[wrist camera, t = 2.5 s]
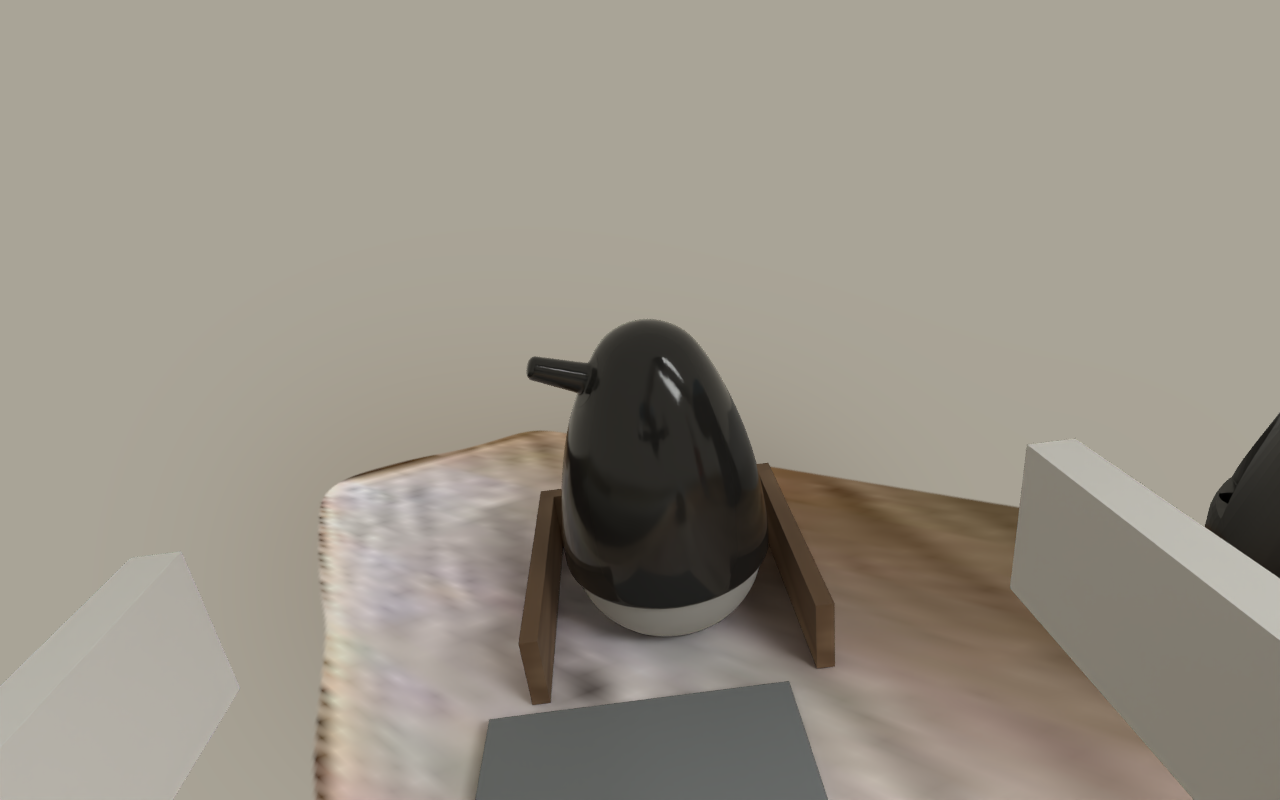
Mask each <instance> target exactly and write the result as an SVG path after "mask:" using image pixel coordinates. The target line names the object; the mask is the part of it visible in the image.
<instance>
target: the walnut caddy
mask: <svg viewBox="0 0 1280 800" xmlns="http://www.w3.org/2000/svg"><path fill="white" fill-rule="evenodd" d="M757 468H758V472H759V476H760V481H761V485H762V490H763V495H764V500H765V505H766V511H767V518H768V531H769V545H770V548H771V551H772V553H773V556H774V558H775V561H776V563H777V566H778V569H779V571H780V574H781V576H782V579H783V582H784V584H785V587H786V589H787V592H788V595H789V597H790V600H791V602H792V605H793V608H794V610H795V613H796V615H797V618H798V620H799V623H800V626H801V628H802V631H803V633H804V636H805V639H806V641H807V644H808V646H809V649H810V652H811V654H812V657H813V659H814V662H815V665H816V667H817V668H825V667H833V666H835V620H834V602H833V600H832V597H831V595H830V593H829V591H828V589H827V587H826V585H825V582H824V580H823V578H822V576H821V574H820V572H819V570H818V568H817V565H816V563H815V561H814V559H813V557H812V555H811V553H810V551H809V548H808V546H807V544H806V542H805V540H804V538H803V536H802V534H801V531H800V529H799V527H798V525H797V523H796V521H795V519H794V517H793V514H792V512H791V510H790V508H789V506H788V504H787V502H786V500H785V497H784V495H783V493H782V491H781V489H780V487H779V485H778V483H777V480H776V478H775V476H774V474H773V472H772V470H771V468H770V466H769V464H768V463H763V464H757ZM561 490H562V489H557V490H549V491H541V494H540V501H539V508H538V515H537V522H536V528H535V535H534V542H533V549H532V556H531V563H530V569H529V576H528V583H527V590H526V597H525V603H524V610H523V617H522V624H521V631H520V637H519V648H520V652H521V657H522V661H523V665H524V670H525V674H526V678H527V683H528V687H529V691H530V696H531V700H532V704H533V705H536V704H543V703H550V702H551V689H552V677H553V664H554V652H555V639H556V627H557V614H558V601H559V589H560V576H561V564H562V551H563V547H564V542H563V531H562V502H561Z"/></svg>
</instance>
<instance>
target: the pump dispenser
mask: <svg viewBox="0 0 1280 800" xmlns="http://www.w3.org/2000/svg"><path fill="white" fill-rule="evenodd" d="M526 371H527V376H528V378H529V379H530V380H533V381H537V382H541V383H544V384H547V385H551V386H554V387H558V388H562V389H565V390H569V391H573V392H576V393H577V395H576V399H575V402H574V405H573V409H572V412H571V417H570V421H569V426H568V431H567V436H566V443H565V450H564V458H563V469H562V490H561V502H562V531H563V542H564V549H565V555H566V560H567V564H568V567H569V569H570V571H571V573H572V575H573V577H574V578H575V579H576V581H577V582H578V583H579V584H580V585H581V586H582V587H583V588H584V590H585V592H586V593H587V595H588V596H589V598H590V599H591V601H592V602H593V603H594V604H595V605H596V607H597V608H598V609H599V610H600V611H601V612H602V613H604V614H605V615H606V616H607V617H608V618H610V619H611V620H613V621H614V622H616V623H617V624H619V625H621V626H623V627H625V628H627V629H630V630H632V631H635V632H638V633H642V634H646V635H653V636H680V635H686V634H691V633H694V632H698V631H700V630H703V629H706V628H708V627H710V626H712V625H714V624H716V623H718V622H719V621H721V620H722V619H724V618H725V617H727V616H728V615H729V614H730V613H732V612H733V611H734V610H735V609H736V608H737V607H738V606H739V604H740V603H741V602H742V601H743V600H744V598H745V597H746V595H747V594H748V592H749V591H750V589H751V587H752V585H753V583H754V581H755V578H756V575H757V572H758V569H759V566H760V565H761V563H762V562H763V560H764V558H765V556H766V553H767V549H768V543H769V531H768V518H767V511H766V505H765V500H764V495H763V490H762V485H761V481H760V476H759V472H758V468H757V464H756V460H755V457H754V454H753V450H752V447H751V444H750V441H749V438H748V436H747V433H746V430H745V427H744V425H743V422H742V420H741V418H740V415H739V413H738V411H737V408H736V406H735V404H734V402H733V400H732V398H731V396H730V394H729V392H728V390H727V388H726V386H725V384H724V382H723V380H722V378H721V377H720V375H719V373H718V371H717V370H716V368H715V366H714V365H713V363H712V362H711V360H710V359H709V357H708V356H707V354H706V353H705V352H704V350H703V349H702V348H701V346H700V345H699V344H698V343H697V342H696V340H695V339H694V338H693V337H692V336H691V335H690V334H688V333H687V332H686V331H685V330H683V329H681V328H680V327H678V326H676V325H673V324H671V323H668V322H665V321H661V320H655V319H640V320H635V321H631V322H628V323H625V324H622V325H620V326H618V327H617V328H615V329H613V330H612V331H611V332H609V333H608V334H607V335H606V336H605V337H604V338H603V339H602V340H601V341H600V343H599V344H598V346H597V347H596V349H595V351H594V352H593V354H592V356H591V359H590V361H589V362H588V363H582V362H574V361H566V360H559V359H551V358H542V357H532V358H531V359H530V360H529V361H528V364H527V370H526Z"/></svg>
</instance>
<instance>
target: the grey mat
mask: <svg viewBox="0 0 1280 800" xmlns="http://www.w3.org/2000/svg"><path fill="white" fill-rule="evenodd" d="M475 800H828V798H827V795H826V792H825V789H824V786H823V783H822V780H821V777H820V774H819V771H818V768H817V765H816V762H815V759H814V756H813V753H812V750H811V746H810V743H809V740H808V737H807V734H806V731H805V728H804V725H803V722H802V719H801V716H800V713H799V710H798V707H797V704H796V701H795V698H794V695H793V692H792V689H791V686H790V683H789V681H786V682H778V683H771V684H763V685H755V686H747V687H739V688H732V689H724V690H716V691H708V692H700V693H693V694H685V695H677V696H669V697H661V698H653V699H646V700H638V701H630V702H622V703H614V704H607V705H599V706H591V707H583V708H575V709H568V710H560V711H552V712H544V713H536V714H529V715H521V716H513V717H505V718H497V719H490V720H489V725H488V730H487V736H486V742H485V747H484V753H483V759H482V764H481V770H480V776H479V781H478V787H477V793H476V798H475Z"/></svg>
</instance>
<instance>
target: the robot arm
mask: <svg viewBox="0 0 1280 800" xmlns="http://www.w3.org/2000/svg"><path fill="white" fill-rule="evenodd" d="M1010 589H1011V590H1012V591H1013V592H1014V593H1015V595H1016V596H1017V597H1018V598H1019V599H1020V600H1021V601H1022V603H1023V604H1024V605H1025V606H1026V607H1027V608H1028V610H1029V611H1030V612H1031V613H1032V614H1033V615H1034V616H1035V618H1036V619H1037V620H1038V621H1039V622H1040V623H1041V624H1042V626H1043V627H1044V628H1045V629H1046V630H1047V631H1048V633H1049V634H1050V635H1051V636H1052V637H1053V638H1054V639H1055V641H1056V642H1057V643H1058V644H1059V645H1060V646H1061V647H1062V649H1063V650H1064V651H1065V652H1066V653H1067V654H1068V655H1069V657H1070V658H1071V659H1072V660H1073V661H1074V662H1075V664H1076V665H1077V666H1078V667H1079V668H1080V669H1081V670H1082V672H1083V673H1084V674H1085V675H1086V676H1087V677H1088V678H1089V680H1090V681H1091V682H1092V683H1093V684H1094V685H1095V687H1096V688H1097V689H1098V690H1099V691H1100V692H1101V693H1102V695H1103V696H1104V697H1105V698H1106V699H1107V700H1108V701H1109V703H1110V704H1111V705H1112V706H1113V707H1114V708H1115V710H1116V711H1117V712H1118V713H1119V714H1120V715H1121V716H1122V718H1123V719H1124V720H1125V721H1126V722H1127V723H1128V724H1129V726H1130V727H1131V728H1132V729H1133V730H1134V731H1135V733H1136V734H1137V735H1138V736H1139V737H1140V738H1141V739H1142V741H1143V742H1144V743H1145V744H1146V745H1147V746H1148V747H1149V749H1150V750H1151V751H1152V752H1153V753H1154V754H1155V756H1156V757H1157V758H1158V759H1159V760H1160V761H1161V762H1162V764H1163V765H1164V766H1165V767H1166V768H1167V769H1168V770H1169V772H1170V773H1171V774H1172V775H1173V776H1174V777H1175V779H1176V780H1177V781H1178V782H1179V783H1180V784H1181V785H1182V787H1183V788H1184V789H1185V790H1186V791H1187V792H1188V793H1189V795H1190V796H1191V797H1192V798H1193V799H1194V800H1280V413H1279V414H1278V416H1277V417H1276V418H1275V419H1274V420H1273V422H1272V423H1271V424H1270V425H1269V427H1268V428H1267V429H1266V431H1265V432H1264V433H1263V435H1262V436H1261V437H1260V438H1259V439H1258V441H1257V442H1256V443H1255V445H1254V446H1253V447H1252V448H1251V450H1250V451H1249V452H1248V454H1247V455H1246V456H1245V458H1244V459H1243V461H1242V462H1241V463H1240V465H1239V466H1238V468H1237V470H1236V471H1235V473H1234V475H1233V476H1232V477H1231V478H1230V479H1229V480H1227V481H1226V482H1225V483H1224V484H1223V485H1222V487H1221V488H1220V489H1219V491H1218V492H1217V493H1216V495H1215V496H1214V498H1213V500H1212V502H1211V504H1210V508H1209V512H1208V516H1207V520H1206V524H1205V527H1204V526H1202V525H1201V524H1199V523H1198V522H1196V521H1195V520H1194V519H1192V518H1191V517H1189V516H1188V515H1186V514H1185V513H1183V512H1182V511H1180V510H1179V509H1178V508H1176V507H1175V506H1173V505H1172V504H1170V503H1169V502H1167V501H1166V500H1164V499H1163V498H1162V497H1160V496H1159V495H1157V494H1156V493H1154V492H1153V491H1151V490H1150V489H1148V488H1147V487H1146V486H1144V485H1143V484H1141V483H1140V482H1138V481H1137V480H1135V479H1134V478H1132V477H1131V476H1129V475H1128V474H1127V473H1125V472H1124V471H1122V470H1121V469H1119V468H1117V467H1116V466H1115V465H1113V464H1112V463H1110V462H1109V461H1108V460H1106V459H1105V458H1103V457H1102V456H1100V455H1099V454H1097V453H1096V452H1094V451H1093V450H1092V449H1090V448H1088V447H1087V446H1086V445H1084V444H1083V443H1081V442H1080V441H1078V440H1077V439H1075V438H1074V439H1067V440H1060V441H1059V440H1058V441H1051V442H1043V443H1035V444H1027V450H1026V458H1025V466H1024V474H1023V483H1022V491H1021V500H1020V508H1019V517H1018V525H1017V533H1016V542H1015V550H1014V559H1013V567H1012V576H1011V584H1010ZM239 690H240V687H239V684H238V682H237V680H236V677H235V675H234V673H233V670H232V668H231V666H230V663H229V661H228V659H227V656H226V654H225V652H224V650H223V647H222V645H221V642H220V640H219V638H218V635H217V633H216V631H215V628H214V626H213V624H212V621H211V619H210V617H209V614H208V612H207V610H206V607H205V605H204V603H203V600H202V598H201V596H200V594H199V591H198V589H197V587H196V584H195V582H194V579H193V577H192V575H191V573H190V570H189V568H188V565H187V563H186V561H185V559H184V556H183V554H182V552H181V551H180V552H172V553H165V554H156V555H148V556H141V557H132V558H130V559H129V560H128V561H127V562H126V563H125V564H124V565H123V566H122V567H121V568H120V569H119V570H118V571H117V572H116V573H115V574H114V575H113V576H112V577H111V578H110V579H109V580H108V581H107V582H106V583H105V584H104V585H103V586H102V587H100V589H98V590H97V592H95V593H94V595H92V596H91V597H90V598H89V599H88V600H87V601H86V602H85V603H84V604H83V605H82V606H81V607H80V608H79V609H78V610H77V611H76V612H75V613H74V614H73V615H72V616H71V617H70V618H69V619H68V620H67V621H66V622H65V623H64V624H63V625H62V626H61V627H60V628H59V629H58V630H57V631H56V632H55V633H54V634H53V635H52V636H51V637H50V638H49V639H47V641H45V642H44V643H43V644H42V646H40V647H39V648H38V649H37V650H36V651H35V652H34V653H33V654H32V655H31V656H30V657H29V658H28V659H27V660H26V661H25V662H24V663H23V664H22V665H21V666H20V667H19V668H18V669H17V670H16V671H15V672H14V673H13V674H12V675H11V676H10V677H9V678H8V679H7V680H6V681H5V682H4V683H3V684H2V685H1V686H0V800H173V799H174V797H175V796H176V794H177V792H178V791H179V789H180V787H181V786H182V784H183V782H184V781H185V779H186V777H187V776H188V774H189V772H190V771H191V769H192V767H193V766H194V764H195V762H196V761H197V759H198V758H199V756H200V754H201V753H202V751H203V749H204V748H205V746H206V744H207V743H208V741H209V739H210V738H211V736H212V734H213V733H214V731H215V729H216V728H217V726H218V724H219V723H220V721H221V719H222V718H223V716H224V714H225V713H226V711H227V709H228V708H229V706H230V704H231V703H232V701H233V700H234V698H235V696H236V694H237V693H238V691H239Z"/></svg>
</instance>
